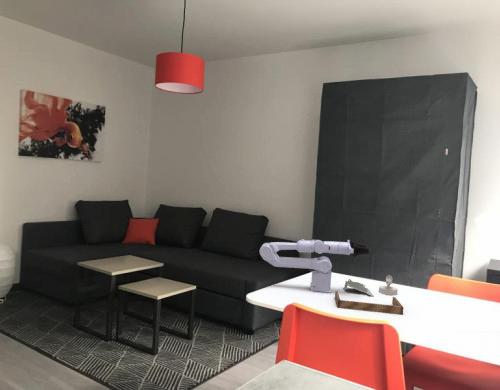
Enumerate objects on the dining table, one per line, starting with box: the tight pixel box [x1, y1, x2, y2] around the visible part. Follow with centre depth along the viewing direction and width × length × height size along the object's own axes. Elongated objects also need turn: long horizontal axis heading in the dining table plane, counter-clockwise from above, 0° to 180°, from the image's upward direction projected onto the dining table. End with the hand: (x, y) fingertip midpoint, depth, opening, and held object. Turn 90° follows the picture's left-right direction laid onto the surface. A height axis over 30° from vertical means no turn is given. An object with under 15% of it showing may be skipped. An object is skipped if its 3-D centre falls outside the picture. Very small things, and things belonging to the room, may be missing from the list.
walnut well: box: [334, 290, 404, 315], centre depth 178 cm, size 26×16×3 cm, turn 82°
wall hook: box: [378, 274, 399, 296], centre depth 204 cm, size 9×10×10 cm
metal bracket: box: [342, 278, 375, 298], centre depth 203 cm, size 14×6×15 cm
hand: (367, 249), depth 197 cm, fingers open, 7 cm apart
